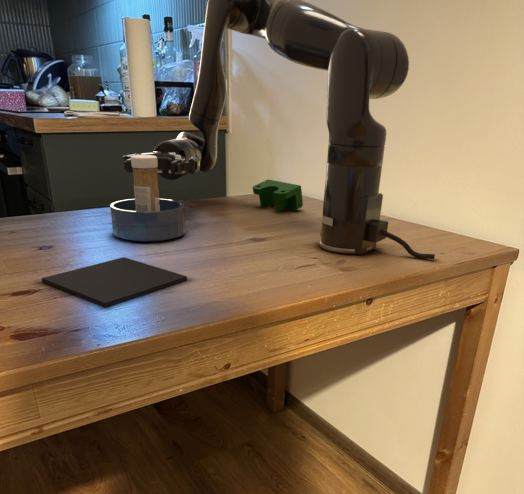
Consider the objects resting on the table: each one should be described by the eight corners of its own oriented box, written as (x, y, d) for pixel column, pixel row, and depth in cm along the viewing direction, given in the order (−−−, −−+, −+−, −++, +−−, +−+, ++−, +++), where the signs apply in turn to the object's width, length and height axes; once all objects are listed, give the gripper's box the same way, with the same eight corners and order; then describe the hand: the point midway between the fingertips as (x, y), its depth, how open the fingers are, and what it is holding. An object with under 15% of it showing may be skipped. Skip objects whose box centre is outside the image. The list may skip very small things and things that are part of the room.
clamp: (261, 224, 123) (246, 189, 121) (278, 215, 126) (263, 181, 124) (291, 213, 114) (275, 175, 111) (308, 204, 117) (293, 167, 114)
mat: (187, 280, 71) (187, 276, 71) (105, 307, 61) (105, 303, 61) (124, 260, 79) (123, 257, 78) (42, 282, 68) (41, 278, 68)
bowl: (199, 234, 95) (198, 205, 93) (146, 247, 86) (143, 215, 83) (152, 223, 102) (150, 195, 100) (98, 234, 93) (95, 204, 90)
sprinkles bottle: (166, 232, 94) (162, 156, 88) (147, 236, 91) (141, 157, 85) (151, 227, 97) (146, 153, 90) (131, 231, 93) (125, 155, 87)
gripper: (141, 138, 104) (110, 143, 90) (208, 141, 103) (187, 147, 89) (144, 175, 108) (115, 186, 93) (208, 179, 106) (188, 190, 92)
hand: (150, 167), depth 91 cm, fingers open, 8 cm apart
